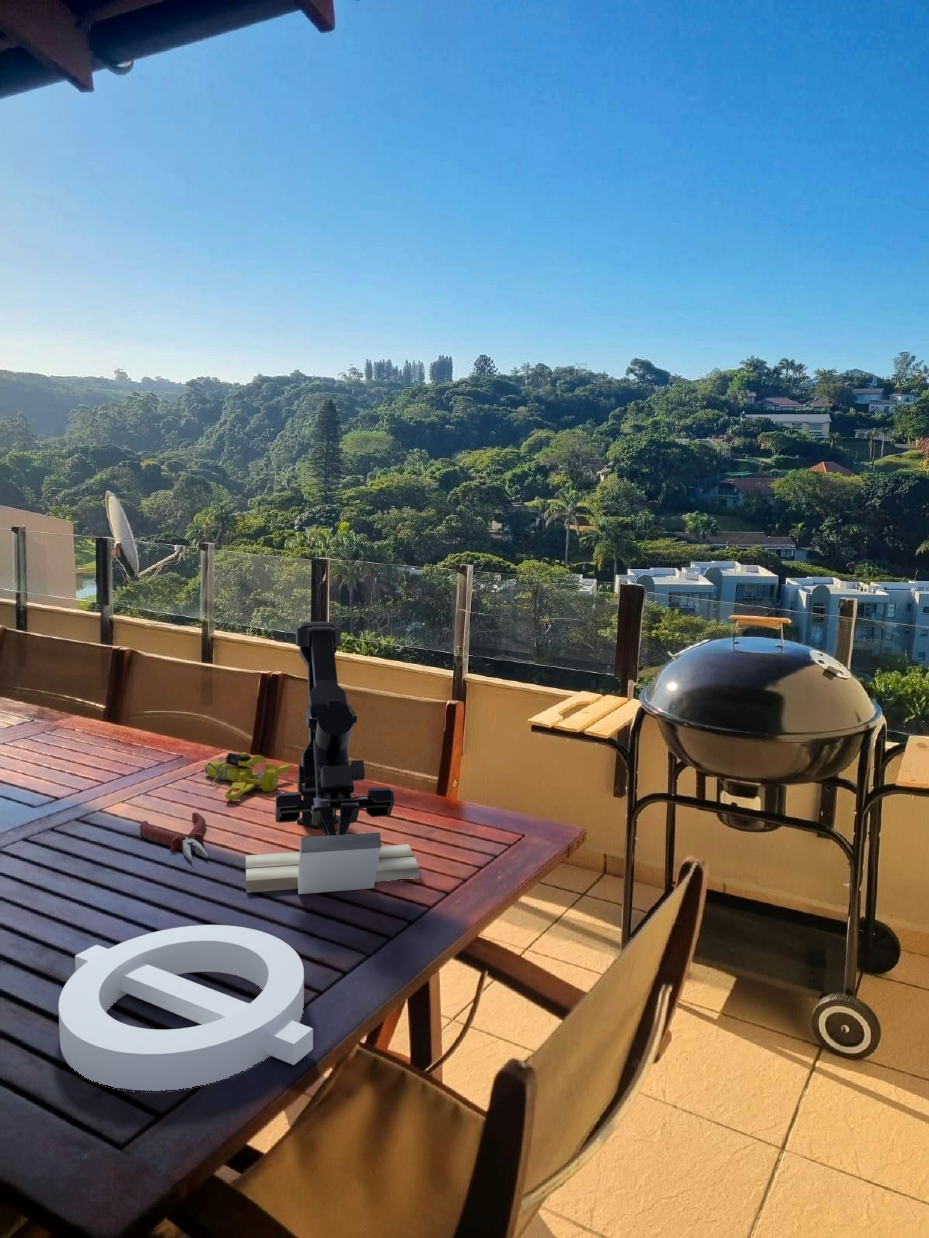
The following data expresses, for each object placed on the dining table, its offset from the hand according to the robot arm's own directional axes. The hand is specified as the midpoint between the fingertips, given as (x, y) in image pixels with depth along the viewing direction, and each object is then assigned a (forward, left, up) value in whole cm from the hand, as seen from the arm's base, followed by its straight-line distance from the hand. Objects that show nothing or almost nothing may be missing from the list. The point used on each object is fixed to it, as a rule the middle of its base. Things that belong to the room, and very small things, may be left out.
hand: (338, 855), depth 138 cm
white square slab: (-2, -2, -6) cm, 7 cm away
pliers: (-1, -38, -8) cm, 39 cm away
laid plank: (-7, -7, -7) cm, 12 cm away
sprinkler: (-30, -52, -8) cm, 60 cm away
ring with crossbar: (+34, +5, -8) cm, 36 cm away
